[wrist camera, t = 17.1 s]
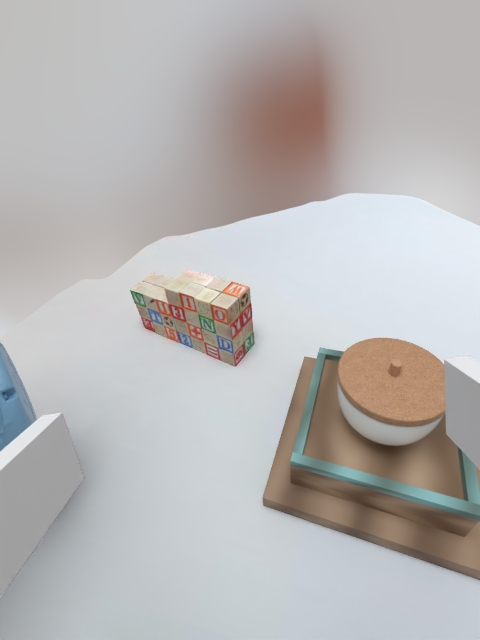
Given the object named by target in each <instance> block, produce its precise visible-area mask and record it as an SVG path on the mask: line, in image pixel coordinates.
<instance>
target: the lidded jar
mask: <svg viewBox="0 0 480 640" xmlns="http://www.w3.org/2000/svg"><path fill="white" fill-rule="evenodd" d="M337 378H338V379H337V394H338V401H339V405H340V408H341V411H342V413H343V415H344V417H345V418H346V420H347V421H348V423H349V424H350V425H351V426H352V427H353V428H354V429H355V430H356V431H357V432H358V433H360V434H361V435H362V436H364V437H365V438H367V439H369V440H371V441H373V442H376V443H379V444H383V445H390V446H402V445H407V444H411V443H414V442H416V441H419V440H421V439H422V438H424V437H425V436H427V435H428V434H429V433H430V432H431V431H432V430H433V429H434V428H435V427H436V426H437V425H438V424H439V422H440V421H441V419H442V417H443V416H444V414H445V413H446V412H445V371H444V364H443V363H442V362H441V361H440V360H439V359H438V358H437V357H435V356H434V355H433V354H431V353H430V352H429V351H427V350H425V349H423V348H421V347H419V346H417V345H415V344H413V343H409V342H406V341H403V340H398V339H392V338H373V339H367V340H364V341H361V342H358V343H356V344H354V345H352V346H351V347H350V348H348V349H347V350H346V351H345V352H344V353H343V355H342V356H341V358H340V360H339V363H338V370H337Z"/></svg>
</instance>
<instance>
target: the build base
mask: <svg viewBox="0 0 480 640" xmlns="http://www.w3.org/2000/svg"><path fill="white" fill-rule="evenodd" d="M343 353H344V352H342V351H336V350H331V349H325V348H319V352H318V356H317V359H315V358H310V357H304V360H303V364H302V367H301V370H300V374H299V377H298V380H297V384H296V387H295V391H294V394H293V397H292V401H291V404H290V407H289V411H288V414H287V418H286V421H285V424H284V428H283V431H282V434H281V438H280V441H279V445H278V448H277V451H276V455H275V458H274V461H273V465H272V468H271V472H270V475H269V478H268V482H267V485H266V488H265V492H264V495H263V504H264V506H267V507H270V508H273V509H276V510H279V511H281V512H284V513H287V514H290V515H293V516H296V517H299V518H302V519H305V520H308V521H311V522H313V523H316V524H319V525H322V526H325V527H328V528H331V529H334V530H337V531H340V532H343V533H345V534H348V535H351V536H354V537H357V538H360V539H363V540H366V541H369V542H372V543H375V544H377V545H380V546H383V547H386V548H389V549H392V550H395V551H398V552H401V553H404V554H407V555H409V556H412V557H415V558H418V559H421V560H424V561H427V562H430V563H433V564H436V565H439V566H442V567H444V568H447V569H450V570H453V571H456V572H459V573H462V574H465V575H468V576H471V577H474V578H476V579H479V580H480V470H479V468H478V467H477V466H476V465H475V464H474V463H473V462H472V461H471V460H470V459H469V458H468V457H467V456H466V455H465V454H464V453H463V451H462V450H461V449H460V448H459V447H458V446H457V445H456V444H455V443H454V442H453V441H452V440H451V439H450V438H449V437H448V435H447V434H446V413H445V414H444V416H443V417H442V419H441V421H440V422H439V424H438V425H437V426H436V427H435V428H434V429H433V430H432V431H431V432H430V433H429V434H428V435H427V436H425V437H424V438H422V439H421V440H419V441H416V442H414V443H411V444H407V445H402V446H390V445H383V444H379V443H376V442H373V441H371V440H369V439H367V438H365V437H364V436H362V435H361V434H360V433H358V432H357V431H356V430H355V429H354V428H353V427H352V426H351V425H350V424H349V423H348V421H347V420H346V418H345V417H344V415H343V413H342V411H341V408H340V405H339V401H338V394H337V379H338V378H337V370H338V363H339V360H340V358H341V356H342V355H343Z"/></svg>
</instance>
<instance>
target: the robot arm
mask: <svg viewBox="0 0 480 640" xmlns="http://www.w3.org/2000/svg"><path fill="white" fill-rule="evenodd" d="M444 371H445V412H446V434H447V435H448V437H449V438H450V439H451V440H452V441H453V442H454V443H455V444H456V445H457V446H458V447H459V448H460V449H461V450H462V451H463V453H464V454H465V455H466V456H467V457H468V458H469V459H470V460H471V461H472V462H473V463H474V464H475V465H476V466H477V467H478V468H479V470H480V362H478V361H477V360H475V359H473V358H472V357H470V356H465V357H458V358H451V359H444ZM83 479H84V475H83V472H82V469H81V466H80V463H79V461H78V458H77V455H76V452H75V449H74V446H73V443H72V440H71V437H70V434H69V431H68V428H67V425H66V422H65V419H64V416H63V413H55V414H48V415H42V416H41V417H40V418H39V419H37V418H36V415H35V412H34V409H33V407H32V404H31V402H30V399H29V397H28V395H27V392H26V390H25V388H24V385H23V383H22V381H21V379H20V377H19V375H18V372H17V370H16V368H15V366H14V364H13V362H12V360H11V359H10V357H9V355H8V353H7V351H6V350H5V348H4V347H3V345H2V344H1V343H0V598H1V596H2V595H3V594H4V592H5V591H6V589H7V588H8V586H9V585H10V584H11V582H12V581H13V579H14V578H15V576H16V575H17V573H18V572H19V571H20V569H21V568H22V566H23V565H24V563H25V562H26V561H27V559H28V558H29V556H30V555H31V553H32V552H33V551H34V549H35V548H36V546H37V545H38V543H39V542H40V540H41V539H42V538H43V536H44V535H45V533H46V532H47V530H48V529H49V528H50V526H51V525H52V523H53V522H54V520H55V519H56V517H57V516H58V515H59V513H60V512H61V510H62V509H63V507H64V506H65V505H66V503H67V502H68V500H69V499H70V497H71V496H72V494H73V493H74V492H75V490H76V489H77V487H78V486H79V484H80V483H81V482H82V480H83Z"/></svg>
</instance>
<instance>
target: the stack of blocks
mask: <svg viewBox="0 0 480 640" xmlns="http://www.w3.org/2000/svg"><path fill="white" fill-rule="evenodd" d="M130 291H131V294H132V297H133V299H134V302H135V304H136V306H137V309H138V311H139V314H140V316H141V319H142V321H143V324H144V326H145V328H147V329H149V330H152V331H154V332H156V333H158V334H160V335H162V336H165V337H168V338H169V339H172V340H174V341H176V342H179V343H182V344H184V345H186V346H189V347H191V348H194V349H196V350H198V351H201V352H203V353H206V354H207V355H209V356H212V357H214V358H216V359H219V360H221V361H223V362H225V363H228V364H230V365H232V366H235V367H236V366H237V364H238V363H239V362H240V361H241V359H242V358H243V357H244V356H245V354H246V353H247V352H248V351H249V349H250V348H251V347H252V346H253V345H254V333H253V323H252V308H251V300H250V287H249V286H245V285H241V284H238V283H235V282H232V281H231V280H227V279H224V278H220V277H215V276H212V275H208V274H204V273H202V274H201V273H200V272H196V271H192V270H188V269H187V270H186V271H184V272H183V273H182V274H181V275H180V276H178V277H177V278H176V279H173V278H170V277H166V276H162V275H159V274H156V273H153V274H151V275H150V276H148V277H147V278H146V279H144V280H143V281H142V282H140V283H139V284H138V285H136V286H135V287H133V288H132V289H131V290H130Z"/></svg>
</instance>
